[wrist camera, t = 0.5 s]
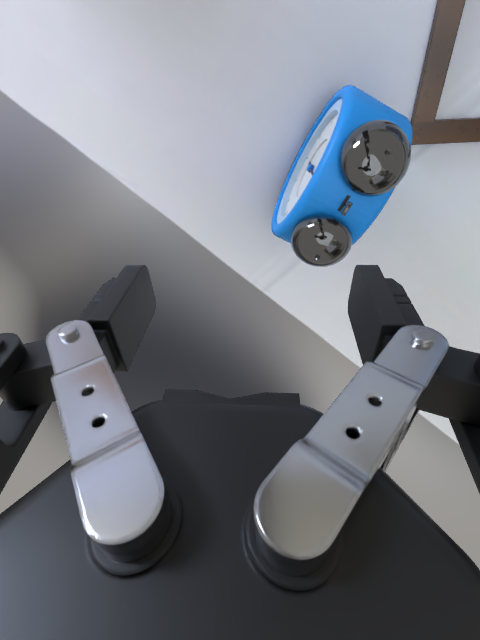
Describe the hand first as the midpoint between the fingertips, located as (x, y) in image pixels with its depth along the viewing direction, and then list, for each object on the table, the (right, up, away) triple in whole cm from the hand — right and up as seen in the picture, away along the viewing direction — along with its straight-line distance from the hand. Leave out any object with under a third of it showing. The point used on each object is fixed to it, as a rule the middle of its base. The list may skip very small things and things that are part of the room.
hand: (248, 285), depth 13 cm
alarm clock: (+9, +16, +23) cm, 29 cm away
